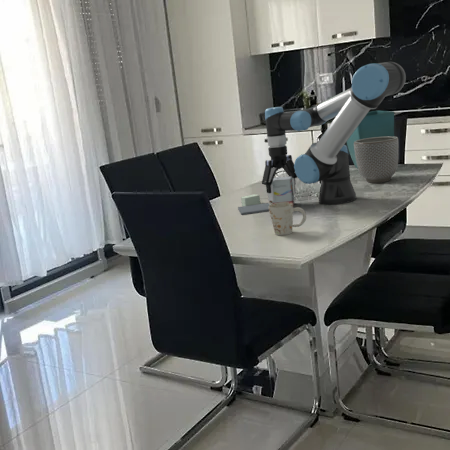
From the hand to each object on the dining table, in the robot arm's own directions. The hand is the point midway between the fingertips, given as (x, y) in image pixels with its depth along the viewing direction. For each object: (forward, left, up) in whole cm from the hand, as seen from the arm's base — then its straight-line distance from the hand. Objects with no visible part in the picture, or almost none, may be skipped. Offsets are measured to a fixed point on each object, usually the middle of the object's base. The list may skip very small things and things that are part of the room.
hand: (282, 197), depth 260 cm
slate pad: (+8, +9, -4) cm, 12 cm away
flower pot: (+11, -82, -4) cm, 83 cm away
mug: (-31, +33, -4) cm, 46 cm away
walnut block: (+10, -7, -4) cm, 13 cm away
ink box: (0, 0, -4) cm, 4 cm away
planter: (-11, -54, -4) cm, 55 cm away
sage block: (+17, +2, -4) cm, 17 cm away
